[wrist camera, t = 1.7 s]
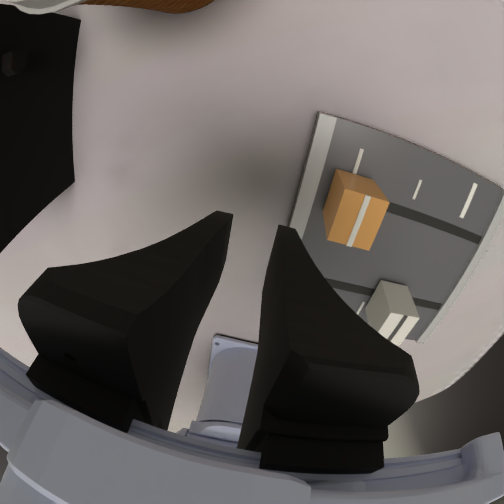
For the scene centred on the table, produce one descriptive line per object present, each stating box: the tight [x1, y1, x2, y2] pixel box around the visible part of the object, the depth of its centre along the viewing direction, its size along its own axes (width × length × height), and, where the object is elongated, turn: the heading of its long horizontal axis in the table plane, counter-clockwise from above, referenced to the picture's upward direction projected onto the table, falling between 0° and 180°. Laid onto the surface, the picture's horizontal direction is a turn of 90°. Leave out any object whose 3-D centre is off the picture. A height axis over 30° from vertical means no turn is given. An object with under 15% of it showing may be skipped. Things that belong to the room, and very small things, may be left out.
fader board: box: [288, 111, 504, 344], centre depth 20 cm, size 16×16×2 cm
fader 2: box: [365, 280, 420, 345], centre depth 19 cm, size 3×2×4 cm
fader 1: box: [323, 169, 390, 251], centre depth 16 cm, size 3×2×4 cm
